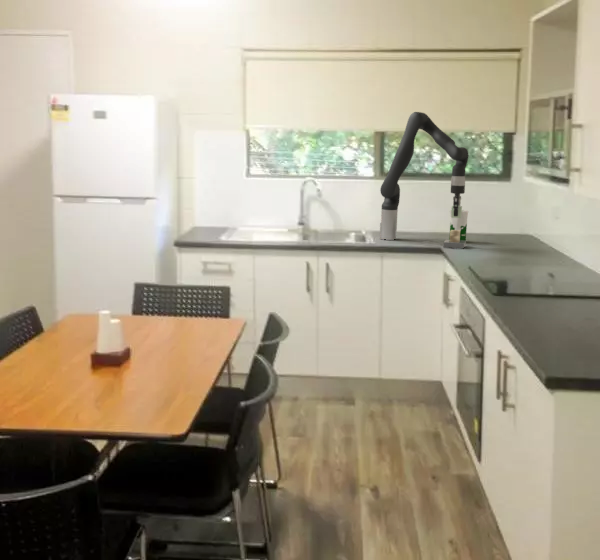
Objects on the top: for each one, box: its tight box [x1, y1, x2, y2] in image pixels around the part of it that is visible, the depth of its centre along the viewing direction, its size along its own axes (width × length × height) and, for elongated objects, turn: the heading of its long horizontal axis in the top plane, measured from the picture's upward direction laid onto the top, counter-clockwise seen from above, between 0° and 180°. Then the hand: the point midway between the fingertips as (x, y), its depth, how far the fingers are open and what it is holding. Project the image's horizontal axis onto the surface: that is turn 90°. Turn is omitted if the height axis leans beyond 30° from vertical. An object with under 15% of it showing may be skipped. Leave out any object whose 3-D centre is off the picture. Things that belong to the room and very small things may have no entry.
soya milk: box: [448, 209, 469, 242], centre depth 481 cm, size 9×9×20 cm
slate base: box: [443, 239, 467, 249], centre depth 464 cm, size 11×11×3 cm
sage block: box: [450, 205, 463, 218], centre depth 460 cm, size 5×5×6 cm
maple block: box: [449, 230, 460, 242], centre depth 463 cm, size 5×5×6 cm
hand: (456, 215), depth 461 cm, fingers closed on sage block, 5 cm apart
